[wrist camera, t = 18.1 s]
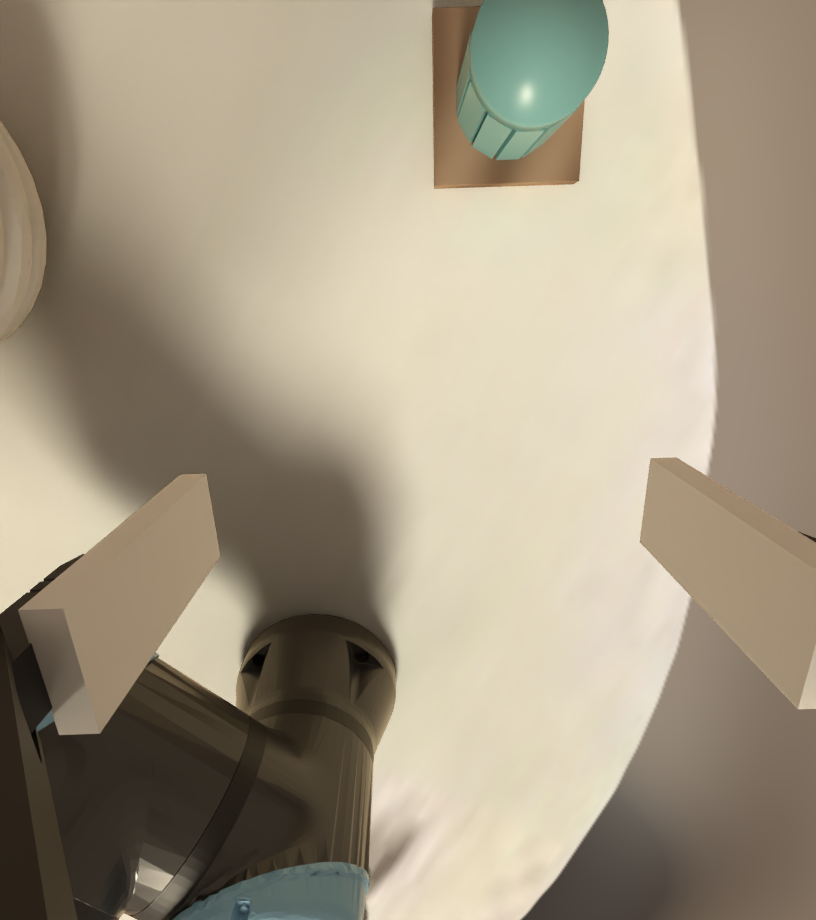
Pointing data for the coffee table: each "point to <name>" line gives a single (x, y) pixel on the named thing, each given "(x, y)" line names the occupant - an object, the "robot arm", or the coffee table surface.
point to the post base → (456, 154)
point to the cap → (528, 71)
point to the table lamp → (18, 238)
